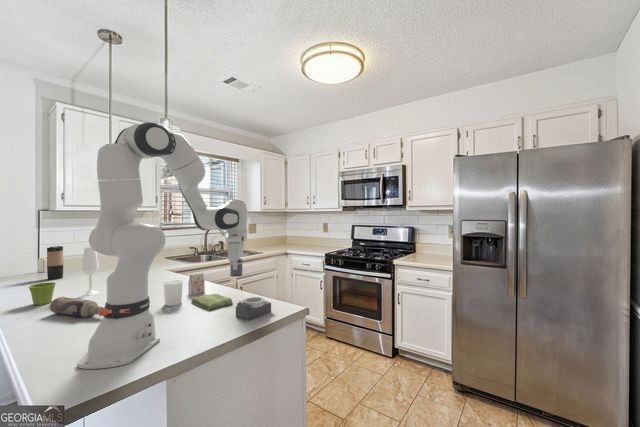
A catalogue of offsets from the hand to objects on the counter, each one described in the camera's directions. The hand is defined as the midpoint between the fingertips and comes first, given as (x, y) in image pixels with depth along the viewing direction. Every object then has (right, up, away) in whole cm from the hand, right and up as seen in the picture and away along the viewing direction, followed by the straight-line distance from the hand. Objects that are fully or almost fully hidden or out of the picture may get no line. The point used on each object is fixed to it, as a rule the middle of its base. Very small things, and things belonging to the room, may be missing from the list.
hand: (236, 268), depth 127 cm
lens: (0, -3, 0) cm, 3 cm away
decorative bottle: (-62, -18, -9) cm, 66 cm away
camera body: (+9, -18, -7) cm, 21 cm away
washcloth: (-13, -18, +7) cm, 24 cm away
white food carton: (-27, -18, +23) cm, 40 cm away
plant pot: (-92, -18, +7) cm, 94 cm away
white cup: (-31, -18, +6) cm, 36 cm away
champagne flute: (-82, -18, +22) cm, 86 cm away
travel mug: (-130, -17, +55) cm, 142 cm away
